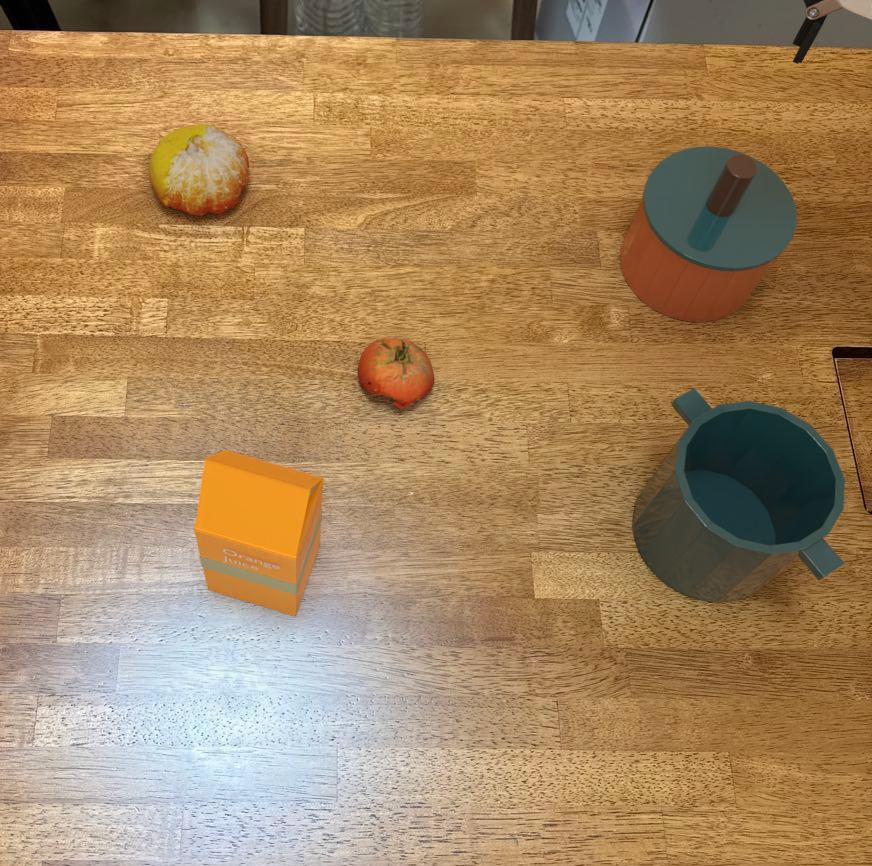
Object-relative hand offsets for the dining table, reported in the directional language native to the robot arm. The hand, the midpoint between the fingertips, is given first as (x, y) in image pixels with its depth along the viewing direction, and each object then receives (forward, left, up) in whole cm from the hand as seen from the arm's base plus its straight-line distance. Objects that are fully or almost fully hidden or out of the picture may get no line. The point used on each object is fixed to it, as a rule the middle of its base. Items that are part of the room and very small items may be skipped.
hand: (855, 74), depth 86 cm
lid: (+2, -4, -19) cm, 20 cm away
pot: (+21, +22, -28) cm, 42 cm away
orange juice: (+60, +3, -28) cm, 67 cm away
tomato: (+38, -8, -28) cm, 48 cm away
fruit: (+43, -40, -28) cm, 65 cm away
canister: (+2, -4, -28) cm, 29 cm away
